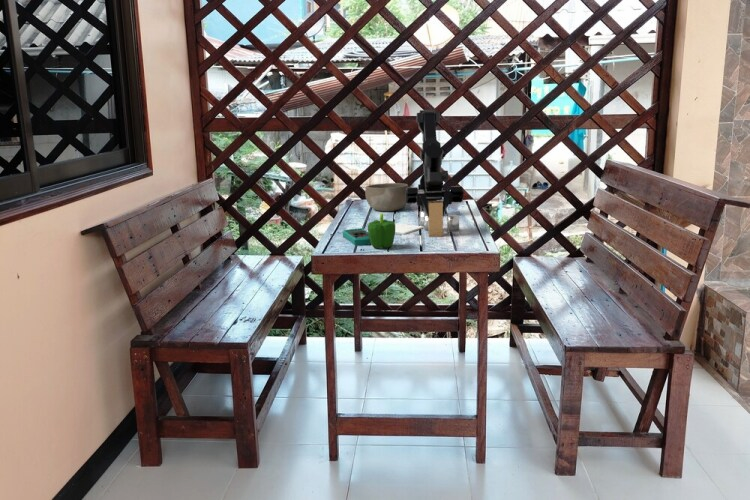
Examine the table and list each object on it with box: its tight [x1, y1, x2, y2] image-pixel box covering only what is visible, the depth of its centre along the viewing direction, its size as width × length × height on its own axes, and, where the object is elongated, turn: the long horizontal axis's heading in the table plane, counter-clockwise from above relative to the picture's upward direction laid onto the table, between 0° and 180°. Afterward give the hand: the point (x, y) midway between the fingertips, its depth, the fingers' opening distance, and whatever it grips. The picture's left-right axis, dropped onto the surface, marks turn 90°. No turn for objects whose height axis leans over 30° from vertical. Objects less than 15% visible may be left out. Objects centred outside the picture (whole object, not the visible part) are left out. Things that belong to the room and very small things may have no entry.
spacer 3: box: [446, 214, 460, 233], centre depth 217 cm, size 4×4×5 cm
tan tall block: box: [427, 200, 444, 238], centre depth 210 cm, size 4×4×11 cm
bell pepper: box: [367, 213, 396, 249], centre depth 197 cm, size 8×8×10 cm
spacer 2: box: [423, 215, 428, 232], centre depth 220 cm, size 4×4×5 cm
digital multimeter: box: [342, 227, 372, 247], centre depth 208 cm, size 7×15×3 cm, turn 19°
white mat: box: [394, 222, 424, 235], centre depth 223 cm, size 12×14×1 cm
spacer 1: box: [419, 210, 426, 226], centre depth 227 cm, size 4×4×5 cm
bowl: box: [364, 182, 409, 212], centre depth 260 cm, size 17×18×10 cm
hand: (435, 216), depth 209 cm, fingers closed on tan tall block, 4 cm apart
